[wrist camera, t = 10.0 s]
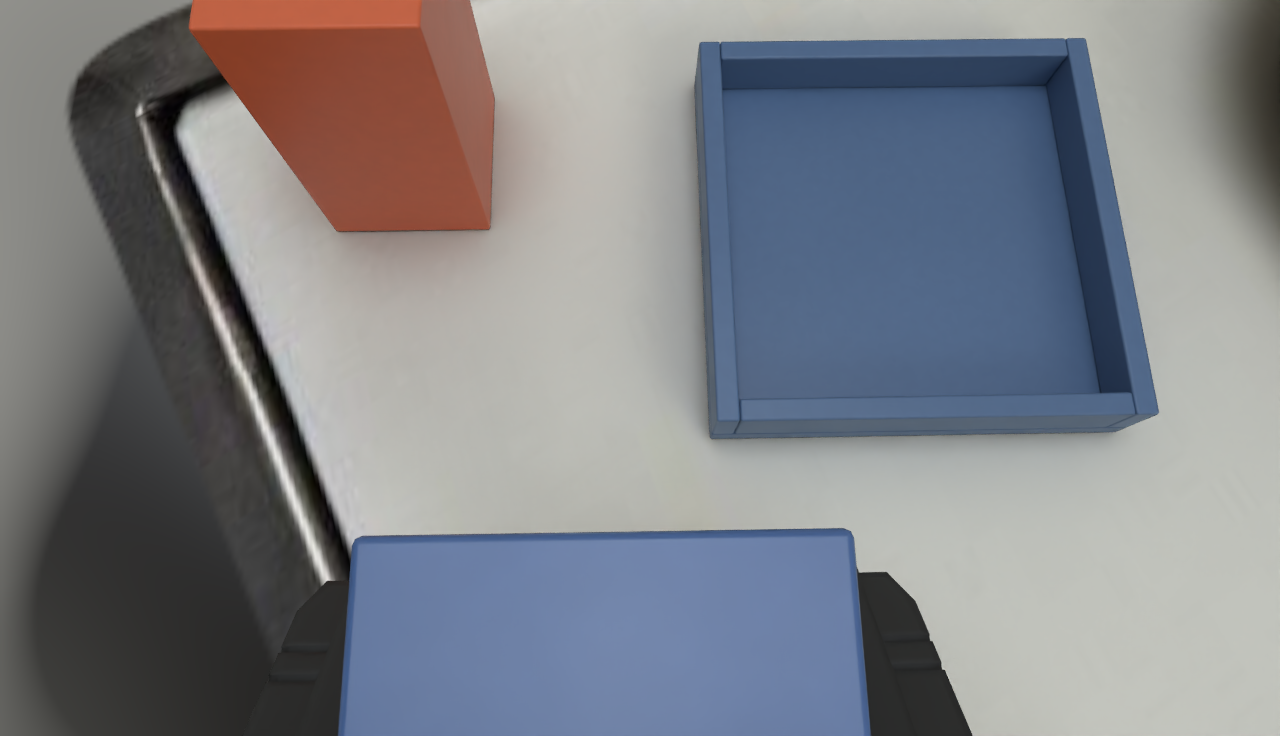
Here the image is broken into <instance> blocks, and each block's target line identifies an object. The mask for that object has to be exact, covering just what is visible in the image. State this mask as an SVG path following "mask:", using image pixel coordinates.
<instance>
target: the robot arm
mask: <svg viewBox="0 0 1280 736" xmlns="http://www.w3.org/2000/svg"><path fill="white" fill-rule="evenodd" d="M856 567H857V566H856ZM857 579H858V590H859V602H860V613H861V625H862V636H863V648H864V660H865V671H866V683H867V694H868V706H869V717H870V729H871V736H972V733H971V731H970V729H969V726H968V724H967V722H966V719H965V717H964V715H963V712H962V710H961V707H960V705H959V703H958V700H957V698H956V696H955V693H954V691H953V689H952V686H951V684H950V682H949V679H948V677H947V675H946V672H945V670H942V667H941V660H940V658H939V656H938V653H937V651H936V649H935V646H934V644H933V642H932V641H930V638H929V632H928V630H927V627H926V625H925V623H924V620H923V618H922V616H921V613H920V611H919V609H918V606H917V604H916V602H915V600H914V599H913V598H912V597H911V596H910V595H909V594H908V593H907V592H906V591H905V590H904V589H903V588H902V587H901V586H900V585H899V584H898V583H897V582H896V581H895V580H894V579H893V578H892V577H891V576H890V575H889V574H888V573H887V572H867V573H859V572H858V569H857ZM348 592H349V581H327V582H326V583H325V584H324V585H323V586H322V587H321V588H320V589H319V590H318V591H317V592H316V593H315V594H314V595H313V596H312V597H311V598H310V599H309V600H308V601H307V602H306V603H305V604H304V605H303V606H302V607H301V608H300V609H299V610H298V611H297V613H296V615H295V617H294V619H293V622H292V624H291V626H290V628H289V631H288V633H287V635H286V637H285V640H284V642H283V644H282V652H281V653H278V656H277V658H276V660H275V662H274V665H273V667H272V669H271V671H270V674H269V681H268V682H266V683H265V685H264V687H263V690H262V692H261V695H260V696H259V699H258V701H257V703H256V705H255V708H254V710H253V712H252V714H251V717H250V719H249V721H248V724H247V726H246V728H245V730H244V733H243V735H242V736H338V725H339V711H340V698H341V685H342V672H343V658H344V645H345V632H346V619H347V605H348Z"/></svg>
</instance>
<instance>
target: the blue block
mask: <svg viewBox="0 0 1280 736" xmlns="http://www.w3.org/2000/svg"><path fill="white" fill-rule="evenodd" d="M338 736H871V729H870V717H869V706H868V694H867V683H866V671H865V660H864V648H863V636H862V625H861V613H860V602H859V590H858V579H857V567H856V556H855V544H854V537H853V535H852V533H851V531H849V530H846V529H844V528H832V529H768V530H705V531H642V532H578V533H515V534H451V535H388V536H361V537H359V538H357V539H355V541H354V543H353V545H352V553H351V566H350V579H349V592H348V605H347V619H346V632H345V645H344V658H343V672H342V685H341V698H340V711H339V725H338Z"/></svg>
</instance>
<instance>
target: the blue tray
mask: <svg viewBox="0 0 1280 736" xmlns="http://www.w3.org/2000/svg"><path fill="white" fill-rule="evenodd" d="M694 88H695V110H696V133H697V156H698V179H699V202H700V225H701V248H702V271H703V294H704V317H705V340H706V363H707V386H708V409H709V432H710V438H711V439H732V438H790V437H849V436H907V435H966V434H1024V433H1082V432H1116V431H1119V430H1121V429H1124V428H1126V427H1128V426H1131V425H1133V424H1135V423H1138V422H1140V421H1143V420H1145V419H1147V418H1150V417H1152V416H1155V415H1157V414H1158V413H1159V410H1158V405H1157V400H1156V395H1155V390H1154V385H1153V380H1152V374H1151V369H1150V364H1149V359H1148V354H1147V349H1146V344H1145V339H1144V334H1143V329H1142V323H1141V318H1140V313H1139V308H1138V303H1137V298H1136V293H1135V288H1134V283H1133V278H1132V273H1131V267H1130V262H1129V257H1128V252H1127V247H1126V242H1125V237H1124V232H1123V227H1122V222H1121V216H1120V211H1119V206H1118V201H1117V196H1116V191H1115V186H1114V181H1113V176H1112V171H1111V166H1110V160H1109V155H1108V150H1107V145H1106V140H1105V135H1104V130H1103V125H1102V120H1101V115H1100V109H1099V104H1098V99H1097V94H1096V89H1095V84H1094V79H1093V74H1092V69H1091V64H1090V58H1089V53H1088V48H1087V43H1086V39H1084V38H1068V39H1066V40H1065V39H1063V38H1061V39H962V40H863V41H764V42H721V44H719V42H701V43H700V44H699V51H698V59H697V68H696V76H695V85H694Z"/></svg>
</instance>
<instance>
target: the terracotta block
mask: <svg viewBox="0 0 1280 736" xmlns="http://www.w3.org/2000/svg"><path fill="white" fill-rule="evenodd" d="M189 30H190V32H191V33H192V34H193V36H194V37H195V38H196V40H197V41H198V43H199V44H200V45H201V47H202V48H203V49H204V51H205V52H206V53H207V55H208V56H209V58H210V59H211V60H212V62H213V63H214V64H215V66H216V67H217V68H218V70H219V71H220V73H221V74H222V75H223V77H224V78H225V79H226V81H227V82H228V83H229V85H230V86H231V88H232V89H233V90H234V92H235V93H236V94H237V96H238V97H239V98H240V100H241V101H242V103H243V104H244V105H245V107H246V108H247V109H248V111H249V112H250V114H251V115H252V116H253V118H254V119H255V120H256V122H257V123H258V124H259V126H260V127H261V129H262V130H263V131H264V133H265V134H266V135H267V137H268V138H269V139H270V141H271V142H272V144H273V145H274V146H275V148H276V149H277V150H278V152H279V153H280V154H281V156H282V157H283V159H284V160H285V161H286V163H287V164H288V165H289V167H290V168H291V170H292V171H293V172H294V174H295V175H296V176H297V178H298V179H299V180H300V182H301V183H302V185H303V186H304V187H305V189H306V190H307V191H308V193H309V194H310V195H311V197H312V198H313V200H314V201H315V202H316V204H317V205H318V206H319V208H320V209H321V210H322V212H323V213H324V215H325V216H326V217H327V219H328V220H329V221H330V223H331V224H332V226H333V227H334V228H335V230H336V231H392V230H467V229H489V228H490V219H491V188H492V158H493V127H494V94H493V90H492V86H491V82H490V78H489V74H488V70H487V66H486V62H485V58H484V55H483V51H482V47H481V43H480V39H479V35H478V31H477V27H476V23H475V19H474V15H473V11H472V7H471V3H470V0H193V3H192V9H191V16H190V22H189Z"/></svg>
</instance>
